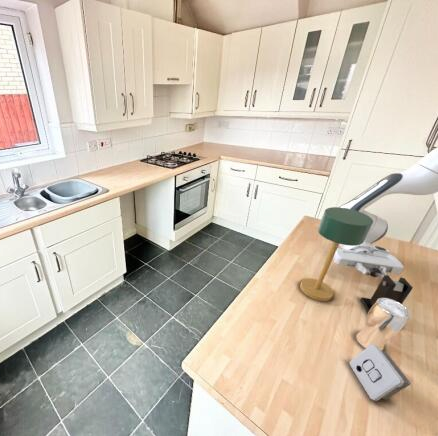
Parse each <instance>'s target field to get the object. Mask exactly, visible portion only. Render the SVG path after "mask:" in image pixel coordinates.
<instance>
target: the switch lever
mask: <svg viewBox="0 0 438 436" xmlns="http://www.w3.org/2000/svg"><path fill="white" fill-rule="evenodd" d="M369 271H370V272H371V273H370V275H369V276H370V277H372V278H379V279H380V280H382V279H383V277H384V275H382V274H381V271H380V270H379V269H378V268H374V267H373V268H370V269H369ZM392 281H393V282H394V283H395V284H396V286H395V288H394V289H393V290H395V291H401V292H402V290H403V287H404V284H402V283H401V282H399V280H397V279H392Z"/></svg>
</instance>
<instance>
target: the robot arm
mask: <svg viewBox="0 0 438 436" xmlns="http://www.w3.org/2000/svg"><path fill="white" fill-rule="evenodd" d="M436 193H438V146H437V147H435V148H434V149H432V150H431V151H429V152H428V153H427V154H426V155H424V156H423V157H422V158H420V159H419V160H418V161H417V162H416V163H415V164H413V165H412V166H410V167H409V168H407V169H405V170H402V171H400V172H398V173H397V172H396V173H391V174H388V175H387V176H385V177H383V178H381V179H380V180H378V181H376V182H375V183H374V184H372V185H371V186H369V187H368V188H367V189H365V190H364V191H362V192H361V193H359V194H358V195H357V196H355V197H354V198H352V199H351V200H349V201H347V202H346V203H343V204H342V205H339V207H340V208H347V209H352V210H356V211H359V212H361V213H364V214H366V215H368V216H369V217H371V218H372V220H373V224H372V226H371V228H370V230H369V232H368V234H367V236H366V238H365V240H364V242H363V243H362V244H361V245H356V246H350V245H343V244H339V246H338V248H337V250H336V252H335V255H334V257H333V259H332V260H333V262H334V264H336V265H337V266H340V267H346V268H353V269H356V270H357V271H358V272H360V273H362V275H363V276H370V273H371V272H370V271H369V269H370V268H373V267H374V268H378V269H379V270H380V271H381V274H382V275H384V276H385V275H388V274H390V275H395V276H399V275H400V274H401V273H402V272H403V271H404V268H405V266H404V265H403V264H402V262H401V261H400V260H399V259H398V258H397V257H396V256H395V255H393V254H391V251H390V250H389V249H388V248H385V247H381V246H378V245H375V244H374V243H376V242H378V241H380V240H381V239H383V238H384V237H385V236H386V234H387V233H388V229H389V225H388V221H387V220H386V219H384V218H382V217H380V216H378V215H376V214H374V213H372V212H369V211H367V210H365V209H367V208H368V207H370V206H371V205H373V204H374V203H377V201H379V200H381V199H382V198H384V197H386V196H388V195H395V194H402V195H410V196H411V195H412V196H427V195H433V194H436Z"/></svg>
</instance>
